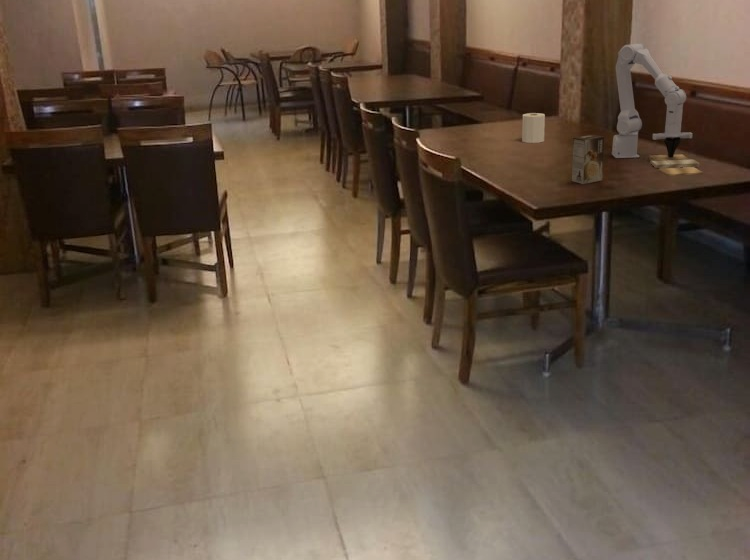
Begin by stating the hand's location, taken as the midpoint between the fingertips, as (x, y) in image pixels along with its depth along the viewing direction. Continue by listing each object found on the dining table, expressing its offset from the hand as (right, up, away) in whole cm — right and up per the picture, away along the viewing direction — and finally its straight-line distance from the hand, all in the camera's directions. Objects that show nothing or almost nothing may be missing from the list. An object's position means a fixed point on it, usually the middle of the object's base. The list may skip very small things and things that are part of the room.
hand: (670, 157), depth 300 cm
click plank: (0, -1, +2) cm, 3 cm away
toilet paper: (-43, +16, +53) cm, 70 cm away
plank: (-3, -9, -16) cm, 19 cm away
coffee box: (-39, -13, -22) cm, 47 cm away
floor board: (-1, -4, -6) cm, 8 cm away
